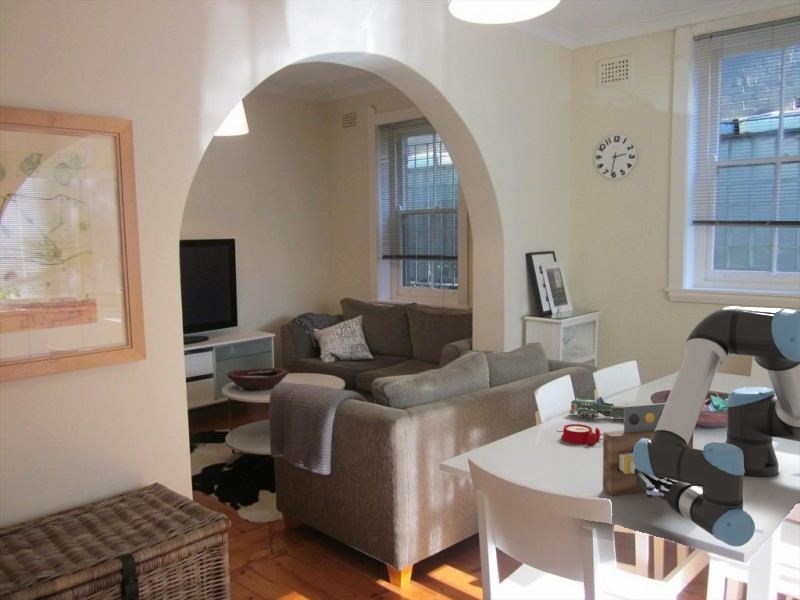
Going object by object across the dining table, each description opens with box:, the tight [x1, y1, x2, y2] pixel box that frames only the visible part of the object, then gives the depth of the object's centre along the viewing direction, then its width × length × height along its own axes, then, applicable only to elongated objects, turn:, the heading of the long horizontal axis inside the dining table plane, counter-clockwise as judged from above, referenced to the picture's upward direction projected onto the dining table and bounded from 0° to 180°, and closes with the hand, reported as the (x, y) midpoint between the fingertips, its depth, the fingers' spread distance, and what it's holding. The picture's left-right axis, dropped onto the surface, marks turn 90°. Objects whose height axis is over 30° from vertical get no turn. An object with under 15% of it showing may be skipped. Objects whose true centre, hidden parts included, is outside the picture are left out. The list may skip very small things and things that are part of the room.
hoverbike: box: [568, 396, 628, 422], centre depth 245 cm, size 10×25×8 cm, turn 64°
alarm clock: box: [556, 423, 603, 446], centre depth 220 cm, size 10×6×15 cm
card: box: [623, 402, 666, 433], centre depth 176 cm, size 1×14×7 cm, turn 102°
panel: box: [602, 429, 694, 497], centre depth 177 cm, size 4×24×16 cm, turn 102°
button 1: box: [618, 451, 633, 474], centre depth 175 cm, size 9×4×4 cm, turn 12°
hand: (633, 466), depth 170 cm, fingers closed
